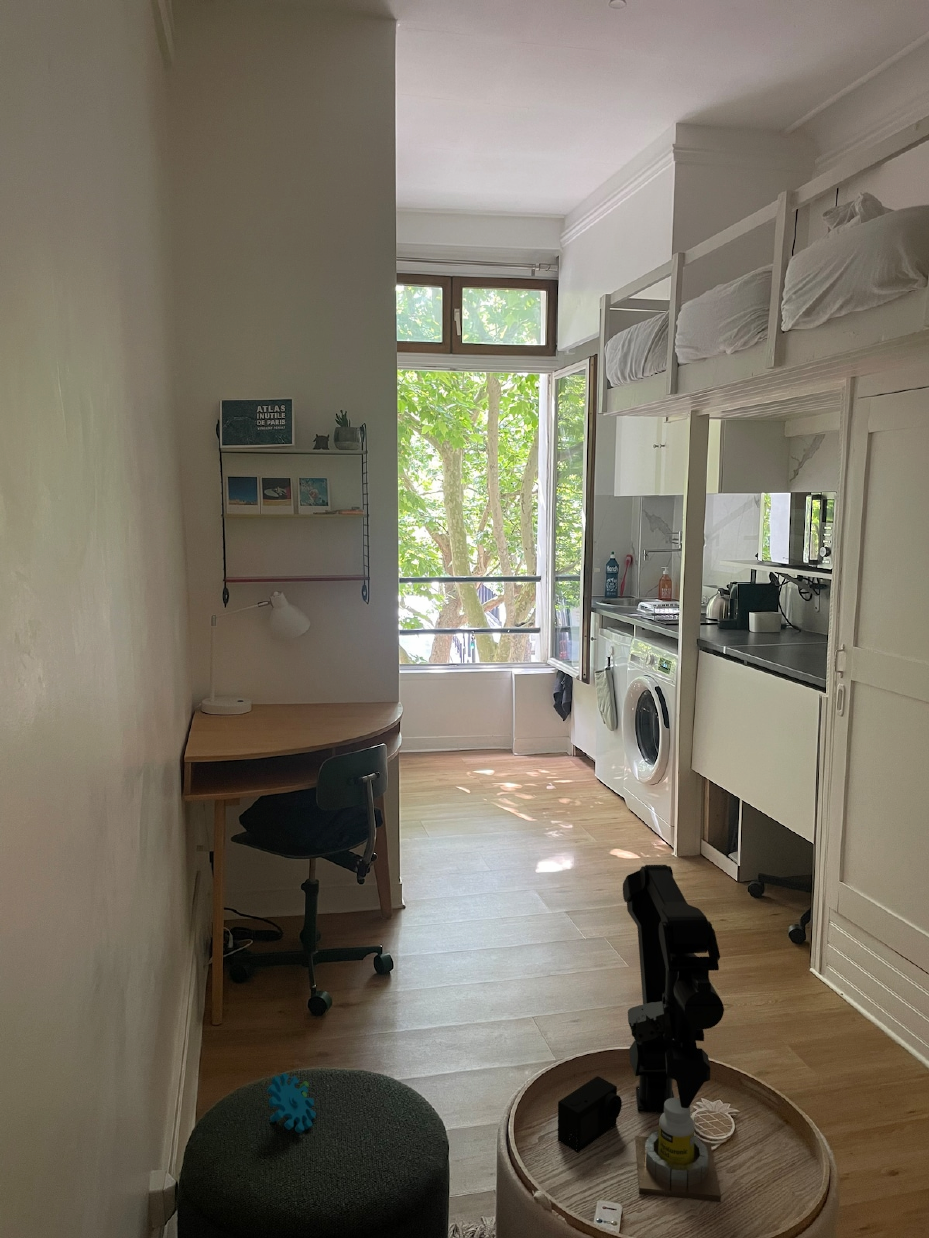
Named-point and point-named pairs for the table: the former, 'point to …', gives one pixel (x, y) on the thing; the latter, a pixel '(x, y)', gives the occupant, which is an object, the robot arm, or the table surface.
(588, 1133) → the digital camera
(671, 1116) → the supplement bottle
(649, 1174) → the collar holder
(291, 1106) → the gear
